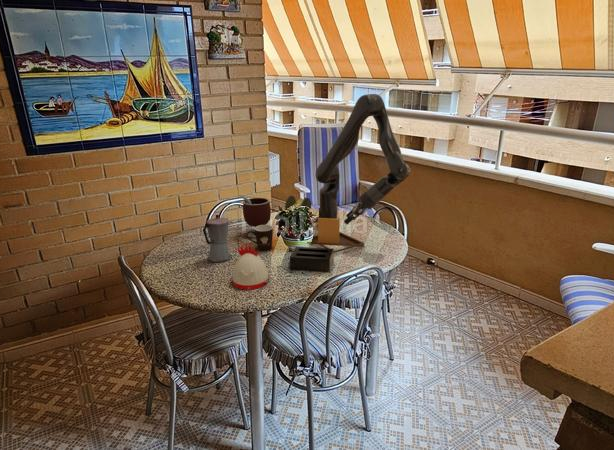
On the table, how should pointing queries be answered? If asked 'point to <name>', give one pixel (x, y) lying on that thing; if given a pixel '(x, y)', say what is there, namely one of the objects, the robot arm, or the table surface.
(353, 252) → the table surface
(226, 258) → the moka pot
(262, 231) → the coffee mug
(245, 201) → the mate gourd
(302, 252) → the low dark brown box
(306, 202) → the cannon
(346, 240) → the tray
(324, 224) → the toast
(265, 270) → the kitchen timer
